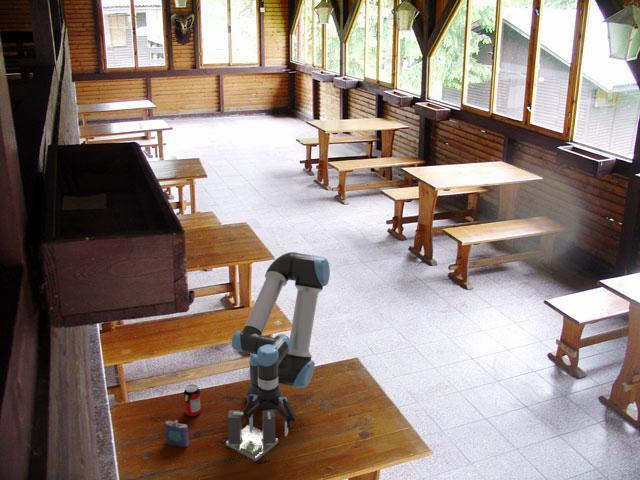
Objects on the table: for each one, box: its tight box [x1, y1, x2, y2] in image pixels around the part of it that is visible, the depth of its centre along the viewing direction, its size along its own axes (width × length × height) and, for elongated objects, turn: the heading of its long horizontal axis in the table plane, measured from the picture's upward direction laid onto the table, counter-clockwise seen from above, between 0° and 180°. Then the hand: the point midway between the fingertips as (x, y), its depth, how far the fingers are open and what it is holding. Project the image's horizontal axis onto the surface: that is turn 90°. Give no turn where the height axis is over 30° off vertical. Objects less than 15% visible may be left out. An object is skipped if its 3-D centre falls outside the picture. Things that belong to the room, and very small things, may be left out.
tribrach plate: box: [225, 424, 279, 462], centre depth 244 cm, size 16×14×3 cm
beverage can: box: [183, 384, 202, 417], centre depth 260 cm, size 6×6×12 cm
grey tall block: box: [261, 408, 276, 444], centre depth 242 cm, size 6×4×13 cm
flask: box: [164, 419, 190, 448], centre depth 242 cm, size 9×3×11 cm, turn 74°
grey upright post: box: [227, 409, 244, 444], centre depth 242 cm, size 6×4×13 cm
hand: (268, 432), depth 243 cm, fingers open, 13 cm apart
